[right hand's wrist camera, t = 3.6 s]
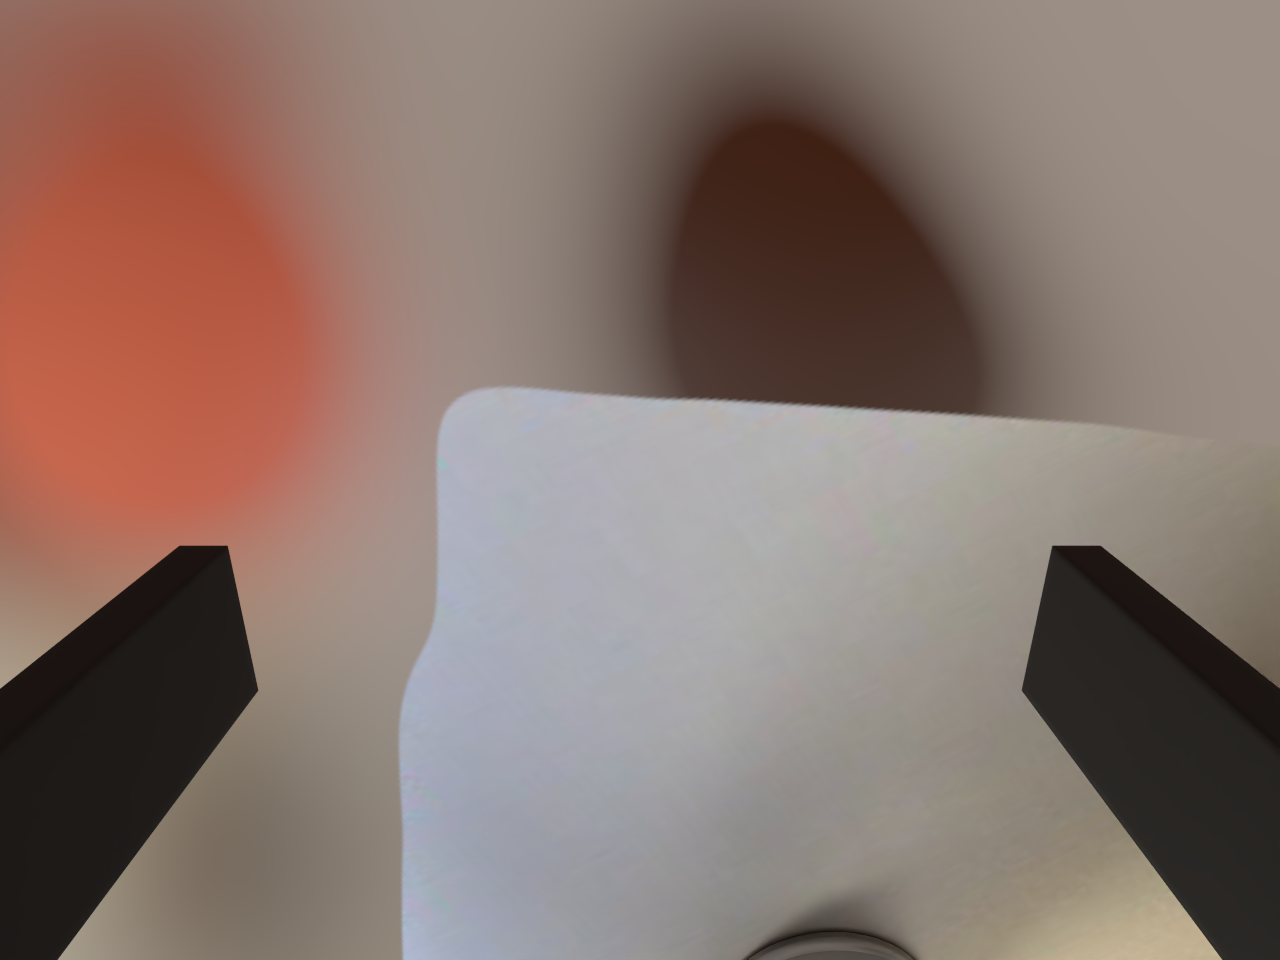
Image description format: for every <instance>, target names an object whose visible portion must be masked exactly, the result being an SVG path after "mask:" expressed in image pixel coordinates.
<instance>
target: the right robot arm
mask: <svg viewBox="0 0 1280 960" xmlns="http://www.w3.org/2000/svg"><path fill="white" fill-rule="evenodd" d="M257 691H258V687H257V682H256V678H255V673H254V668H253V663H252V659H251V654H250V649H249V644H248V640H247V635H246V630H245V626H244V621H243V616H242V611H241V607H240V602H239V597H238V593H237V588H236V583H235V578H234V574H233V569H232V564H231V559H230V555H229V550H228V546H179V547H177V548H176V549H175V550H174V551H172V552H171V553H170V554H169V555H167V556H166V557H165V558H164V559H162V560H161V561H160V562H159V563H157V564H156V565H155V566H154V567H152V568H151V569H150V570H149V571H147V572H146V573H145V574H144V575H142V576H141V577H140V578H139V579H137V580H136V581H135V582H134V583H132V584H131V585H130V586H128V587H127V588H126V589H125V590H124V591H122V592H121V593H120V594H118V595H117V596H116V597H115V598H113V599H112V600H111V601H110V602H108V603H107V604H106V605H105V606H103V607H102V608H101V609H100V610H98V611H97V612H96V613H95V614H93V615H92V616H91V617H90V618H88V619H87V620H86V621H85V622H83V623H82V624H81V625H80V626H78V627H77V628H76V629H75V630H73V631H72V632H71V633H70V634H68V635H67V636H66V637H65V638H63V639H62V640H61V641H60V642H58V643H57V644H56V645H55V646H53V647H52V648H51V649H50V650H48V651H47V652H46V653H45V654H43V655H42V656H41V657H39V658H38V659H37V660H36V661H34V662H33V663H32V664H31V665H29V666H28V667H27V668H26V669H24V670H23V671H22V672H21V673H19V674H18V675H17V676H16V677H14V678H13V679H12V680H11V681H9V682H8V683H7V684H6V685H4V686H3V687H2V688H1V689H0V960H58V958H59V957H60V956H61V954H62V953H63V952H64V950H65V949H66V948H67V946H68V945H69V944H70V942H71V941H72V940H73V938H74V937H75V936H76V934H77V933H78V932H79V930H80V929H81V928H82V926H83V925H84V924H85V922H86V921H87V920H88V918H89V917H90V915H91V914H92V913H93V911H94V910H95V909H96V907H97V906H98V905H99V903H100V902H101V901H102V899H103V898H104V897H105V895H106V894H107V893H108V891H109V890H110V889H111V887H112V886H113V885H114V883H115V882H116V881H117V879H118V878H119V877H120V875H121V874H122V873H123V871H124V870H125V869H126V867H127V866H128V864H129V863H130V862H131V860H132V859H133V858H134V856H135V855H136V854H137V852H138V851H139V850H140V848H141V847H142V846H143V844H144V843H145V842H146V840H147V839H148V838H149V836H150V835H151V834H152V832H153V831H154V830H155V828H156V827H157V826H158V824H159V823H160V822H161V820H162V819H163V817H164V816H165V815H166V814H167V812H168V811H169V809H170V808H171V807H172V805H173V804H174V803H175V801H176V800H177V799H178V797H179V796H180V795H181V793H182V792H183V791H184V789H185V788H186V787H187V785H188V784H189V783H190V781H191V780H192V779H193V777H194V776H195V775H196V773H197V772H198V771H199V769H200V768H201V766H202V765H203V764H204V763H205V761H206V760H207V759H208V757H209V756H210V755H211V753H212V752H213V750H214V749H215V748H216V746H217V745H218V744H219V742H220V741H221V740H222V738H223V737H224V736H225V734H226V733H227V732H228V730H229V729H230V728H231V726H232V725H233V724H234V722H235V721H236V720H237V718H238V717H239V716H240V714H241V713H242V712H243V710H244V709H245V708H246V706H247V705H248V704H249V702H250V701H251V700H252V698H253V697H254V696H255V694H256V693H257ZM1022 691H1023V693H1024V694H1025V696H1026V697H1027V698H1028V700H1029V701H1030V702H1031V704H1032V705H1033V706H1034V708H1035V709H1036V710H1037V712H1038V713H1039V714H1040V716H1041V717H1042V718H1043V720H1044V721H1045V722H1046V724H1047V725H1048V726H1049V728H1050V729H1051V730H1052V732H1053V733H1054V734H1055V736H1056V737H1057V738H1058V740H1059V741H1060V742H1061V744H1062V745H1063V746H1064V748H1065V749H1066V750H1067V752H1068V753H1069V755H1070V756H1071V757H1072V759H1073V760H1074V761H1075V763H1076V764H1077V765H1078V767H1079V768H1080V769H1081V771H1082V772H1083V773H1084V775H1085V776H1086V777H1087V779H1088V780H1089V781H1090V783H1091V784H1092V785H1093V787H1094V788H1095V789H1096V791H1097V792H1098V793H1099V795H1100V796H1101V797H1102V799H1103V800H1104V801H1105V803H1106V804H1107V805H1108V807H1109V808H1110V810H1111V811H1112V812H1113V814H1114V815H1115V816H1116V818H1117V819H1118V820H1119V822H1120V823H1121V824H1122V826H1123V827H1124V828H1125V830H1126V831H1127V832H1128V834H1129V835H1130V836H1131V838H1132V839H1133V840H1134V842H1135V843H1136V844H1137V846H1138V847H1139V848H1140V850H1141V851H1142V852H1143V854H1144V855H1145V856H1146V858H1147V859H1148V860H1149V862H1150V863H1151V865H1152V866H1153V867H1154V869H1155V870H1156V871H1157V873H1158V874H1159V875H1160V877H1161V878H1162V879H1163V881H1164V882H1165V883H1166V885H1167V886H1168V887H1169V889H1170V890H1171V891H1172V893H1173V894H1174V895H1175V897H1176V898H1177V899H1178V901H1179V902H1180V903H1181V905H1182V906H1183V907H1184V909H1185V910H1186V911H1187V913H1188V914H1189V915H1190V917H1191V918H1192V920H1193V921H1194V922H1195V924H1196V925H1197V926H1198V928H1199V929H1200V930H1201V932H1202V933H1203V934H1204V936H1205V937H1206V938H1207V940H1208V941H1209V942H1210V944H1211V945H1212V946H1213V948H1214V949H1215V950H1216V952H1217V953H1218V954H1219V956H1220V957H1221V958H1222V960H1280V689H1279V688H1278V687H1277V686H1276V685H1274V684H1273V683H1272V682H1271V681H1269V680H1268V679H1267V678H1266V677H1264V676H1263V675H1262V674H1261V673H1259V672H1258V671H1257V670H1256V669H1254V668H1253V667H1252V666H1251V665H1249V664H1248V663H1247V662H1246V661H1244V660H1243V659H1242V658H1241V657H1239V656H1238V655H1237V654H1235V653H1234V652H1233V651H1232V650H1230V649H1229V648H1228V647H1227V646H1225V645H1224V644H1223V643H1222V642H1220V641H1219V640H1218V639H1217V638H1215V637H1214V636H1213V635H1212V634H1210V633H1209V632H1208V631H1207V630H1205V629H1204V628H1203V627H1202V626H1200V625H1199V624H1198V623H1197V622H1195V621H1194V620H1193V619H1192V618H1190V617H1189V616H1188V615H1187V614H1185V613H1184V612H1183V611H1182V610H1180V609H1179V608H1178V607H1177V606H1175V605H1174V604H1173V603H1172V602H1170V601H1169V600H1168V599H1167V598H1165V597H1164V596H1163V595H1162V594H1160V593H1159V592H1158V591H1157V590H1155V589H1154V588H1153V587H1152V586H1150V585H1149V584H1148V583H1146V582H1145V581H1144V580H1143V579H1141V578H1140V577H1139V576H1138V575H1136V574H1135V573H1134V572H1133V571H1131V570H1130V569H1129V568H1128V567H1126V566H1125V565H1124V564H1123V563H1121V562H1120V561H1119V560H1118V559H1116V558H1115V557H1114V556H1113V555H1111V554H1110V553H1109V552H1108V551H1106V550H1105V549H1104V548H1103V547H1101V546H1052V550H1051V555H1050V559H1049V564H1048V569H1047V573H1046V578H1045V583H1044V588H1043V592H1042V597H1041V602H1040V607H1039V611H1038V616H1037V621H1036V626H1035V630H1034V635H1033V640H1032V644H1031V649H1030V654H1029V659H1028V663H1027V668H1026V673H1025V678H1024V682H1023V687H1022ZM748 960H913V959H912V958H911V957H910V956H909V955H908V954H906V953H905V952H904V951H902V950H901V949H899V948H897V947H896V946H894V945H892V944H890V943H888V942H885V941H883V940H880V939H877V938H874V937H870V936H867V935H862V934H856V933H847V932H821V933H812V934H806V935H801V936H797V937H793V938H789V939H786V940H783V941H780V942H778V943H776V944H773V945H771V946H769V947H767V948H765V949H763V950H761V951H760V952H758V953H756V954H755V955H753V956H752V957H751V958H749V959H748Z"/></svg>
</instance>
